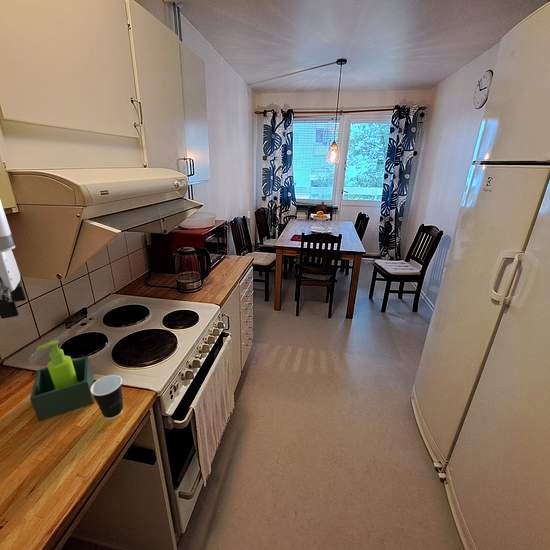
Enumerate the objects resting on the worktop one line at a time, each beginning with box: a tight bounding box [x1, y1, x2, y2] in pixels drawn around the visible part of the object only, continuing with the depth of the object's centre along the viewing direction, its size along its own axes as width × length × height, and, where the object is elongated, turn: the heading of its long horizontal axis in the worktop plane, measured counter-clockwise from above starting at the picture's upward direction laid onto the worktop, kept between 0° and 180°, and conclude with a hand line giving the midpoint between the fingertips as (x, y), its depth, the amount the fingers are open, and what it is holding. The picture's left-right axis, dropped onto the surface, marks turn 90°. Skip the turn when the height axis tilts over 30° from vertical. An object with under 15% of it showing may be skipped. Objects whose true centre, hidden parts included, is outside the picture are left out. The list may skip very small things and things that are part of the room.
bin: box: [29, 356, 95, 422], centre depth 89 cm, size 14×14×9 cm
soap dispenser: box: [35, 339, 79, 390], centre depth 87 cm, size 6×7×20 cm
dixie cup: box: [90, 374, 124, 421], centre depth 83 cm, size 8×8×11 cm
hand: (14, 308), depth 73 cm, fingers open, 9 cm apart
